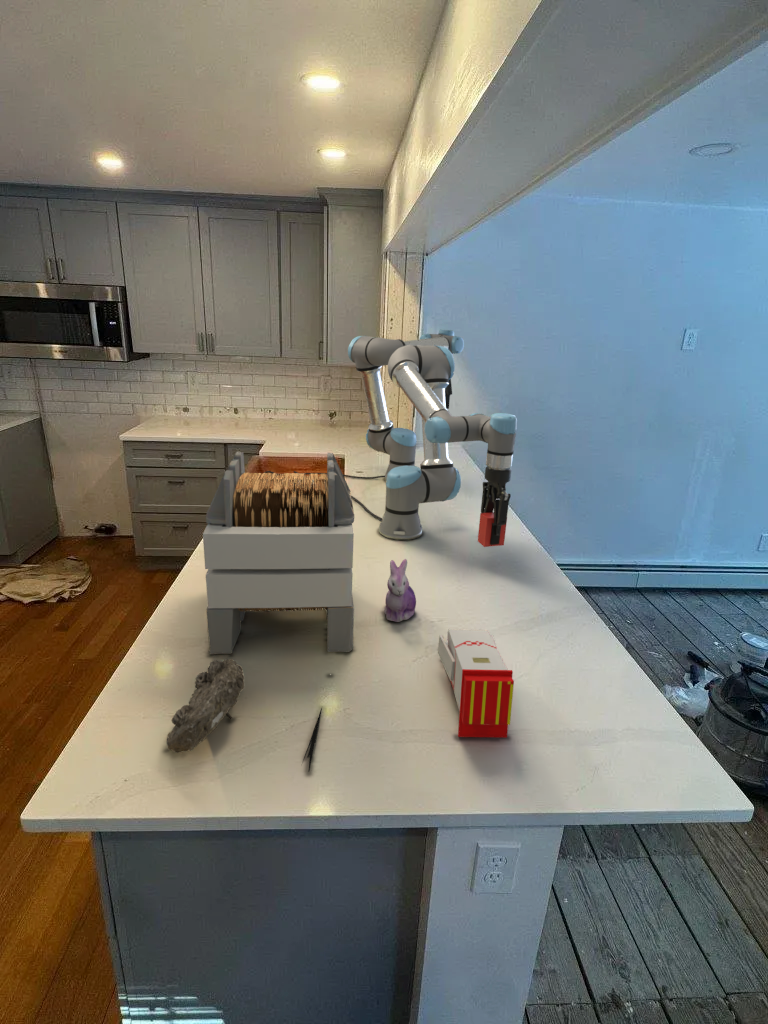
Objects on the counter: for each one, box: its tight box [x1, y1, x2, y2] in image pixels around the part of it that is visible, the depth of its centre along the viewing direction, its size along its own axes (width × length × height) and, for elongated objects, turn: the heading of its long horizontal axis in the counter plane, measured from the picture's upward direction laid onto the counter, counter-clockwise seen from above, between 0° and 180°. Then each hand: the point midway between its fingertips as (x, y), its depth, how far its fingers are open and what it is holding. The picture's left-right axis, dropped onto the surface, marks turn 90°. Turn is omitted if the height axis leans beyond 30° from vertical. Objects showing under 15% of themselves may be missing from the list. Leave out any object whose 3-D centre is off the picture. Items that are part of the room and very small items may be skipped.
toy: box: [437, 628, 515, 738], centre depth 117 cm, size 12×13×30 cm
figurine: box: [384, 558, 417, 623], centre depth 145 cm, size 9×10×15 cm
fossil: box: [166, 658, 245, 754], centre depth 106 cm, size 22×10×15 cm
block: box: [477, 511, 508, 548], centre depth 173 cm, size 5×7×9 cm
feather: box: [301, 673, 332, 771], centre depth 108 cm, size 2×28×2 cm
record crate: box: [202, 451, 355, 655], centre depth 137 cm, size 34×33×41 cm
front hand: (490, 540), depth 174 cm, fingers closed on block, 5 cm apart
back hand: (441, 406), depth 285 cm, fingers open, 13 cm apart
